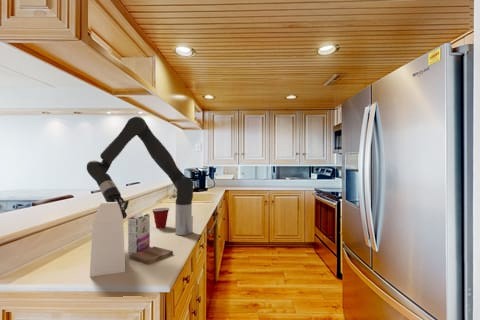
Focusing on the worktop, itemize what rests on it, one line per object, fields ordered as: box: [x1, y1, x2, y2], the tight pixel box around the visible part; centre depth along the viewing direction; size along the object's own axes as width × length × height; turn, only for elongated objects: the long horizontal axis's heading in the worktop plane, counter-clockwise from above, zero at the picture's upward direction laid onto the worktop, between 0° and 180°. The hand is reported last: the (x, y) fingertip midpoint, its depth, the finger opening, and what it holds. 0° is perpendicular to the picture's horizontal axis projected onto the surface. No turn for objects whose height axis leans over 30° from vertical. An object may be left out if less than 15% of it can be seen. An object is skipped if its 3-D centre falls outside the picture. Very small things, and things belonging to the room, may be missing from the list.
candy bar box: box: [127, 212, 151, 254], centre depth 130 cm, size 11×5×16 cm, turn 168°
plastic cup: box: [151, 207, 170, 229], centre depth 174 cm, size 11×11×12 cm
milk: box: [89, 202, 126, 278], centre depth 108 cm, size 12×12×26 cm
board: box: [128, 246, 174, 265], centre depth 122 cm, size 14×12×2 cm
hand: (124, 217), depth 136 cm, fingers closed
